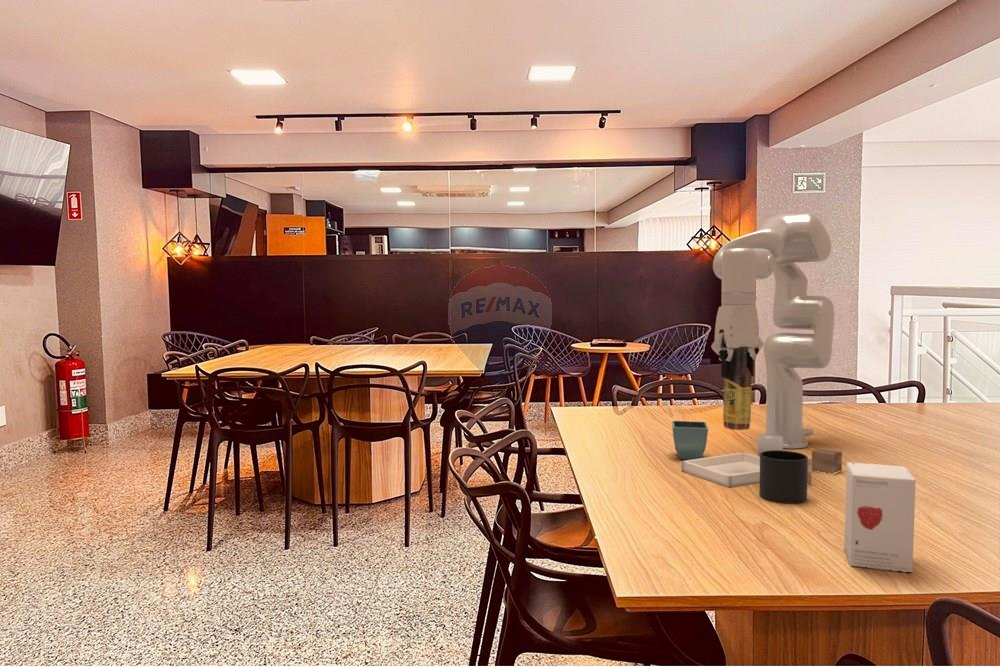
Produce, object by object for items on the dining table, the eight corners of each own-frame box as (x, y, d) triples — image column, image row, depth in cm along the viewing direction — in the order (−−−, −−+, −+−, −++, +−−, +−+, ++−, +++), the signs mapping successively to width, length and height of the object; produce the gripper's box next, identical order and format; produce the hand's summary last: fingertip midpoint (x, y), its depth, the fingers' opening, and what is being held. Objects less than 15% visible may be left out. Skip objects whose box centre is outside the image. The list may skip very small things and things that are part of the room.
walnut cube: (821, 467, 174) (821, 447, 173) (841, 471, 170) (842, 451, 170) (811, 471, 170) (811, 450, 170) (832, 475, 167) (832, 454, 166)
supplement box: (849, 566, 112) (850, 474, 111) (843, 547, 120) (845, 461, 119) (914, 574, 108) (916, 479, 108) (903, 554, 117) (906, 465, 116)
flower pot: (708, 462, 180) (708, 427, 179) (672, 461, 182) (673, 426, 181) (705, 454, 188) (705, 421, 188) (671, 453, 190) (671, 420, 190)
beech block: (802, 479, 163) (802, 454, 162) (811, 484, 159) (811, 458, 158) (785, 480, 162) (785, 454, 162) (794, 485, 158) (794, 458, 158)
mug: (810, 491, 153) (811, 450, 153) (804, 506, 143) (805, 462, 142) (764, 485, 158) (765, 446, 157) (755, 500, 147) (756, 457, 147)
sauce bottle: (718, 426, 171) (719, 344, 169) (743, 425, 171) (744, 344, 170) (730, 431, 164) (730, 346, 163) (755, 430, 165) (756, 346, 163)
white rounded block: (769, 459, 182) (769, 432, 182) (787, 464, 177) (788, 437, 177) (752, 462, 180) (752, 435, 179) (770, 467, 174) (770, 439, 174)
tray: (743, 461, 180) (743, 452, 180) (793, 476, 165) (793, 466, 165) (681, 471, 171) (681, 461, 171) (728, 487, 157) (728, 476, 157)
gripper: (753, 300, 173) (752, 373, 174) (698, 301, 166) (698, 377, 167) (777, 300, 166) (776, 376, 167) (721, 301, 159) (720, 380, 160)
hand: (737, 376), depth 167 cm, fingers closed on sauce bottle, 5 cm apart
